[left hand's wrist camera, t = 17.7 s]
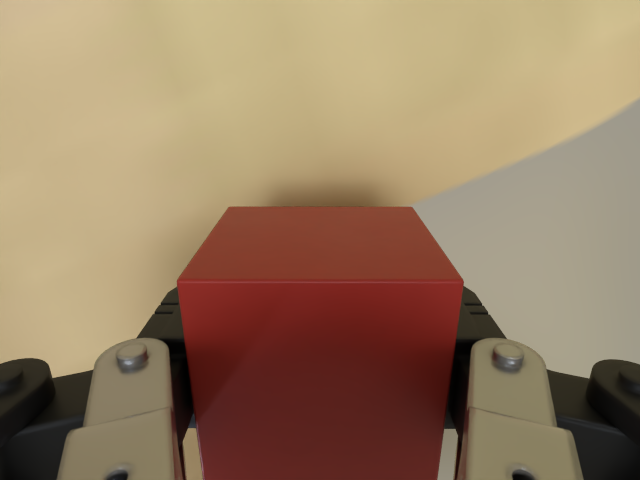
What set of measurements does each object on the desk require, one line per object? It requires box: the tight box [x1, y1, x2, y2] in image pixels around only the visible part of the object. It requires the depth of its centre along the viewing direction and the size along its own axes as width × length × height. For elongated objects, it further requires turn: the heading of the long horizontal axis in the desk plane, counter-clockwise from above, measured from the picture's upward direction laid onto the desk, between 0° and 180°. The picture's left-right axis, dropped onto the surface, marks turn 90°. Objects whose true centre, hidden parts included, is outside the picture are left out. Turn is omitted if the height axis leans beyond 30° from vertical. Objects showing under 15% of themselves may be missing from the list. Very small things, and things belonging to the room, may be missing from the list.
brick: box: [177, 207, 464, 480], centre depth 10 cm, size 5×5×4 cm
